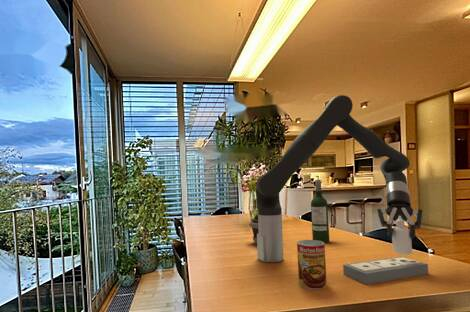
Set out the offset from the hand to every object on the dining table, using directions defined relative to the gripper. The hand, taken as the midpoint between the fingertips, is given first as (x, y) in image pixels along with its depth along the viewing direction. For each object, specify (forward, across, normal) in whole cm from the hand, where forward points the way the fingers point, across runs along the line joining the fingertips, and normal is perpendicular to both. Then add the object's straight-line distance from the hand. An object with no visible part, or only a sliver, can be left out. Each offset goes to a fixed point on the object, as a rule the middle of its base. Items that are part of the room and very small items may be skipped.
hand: (401, 236), depth 97 cm
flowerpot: (-11, -58, +28) cm, 65 cm away
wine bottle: (-20, -34, +37) cm, 54 cm away
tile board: (+11, -5, +5) cm, 13 cm away
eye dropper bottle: (+3, 0, +6) cm, 6 cm away
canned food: (+23, -24, -7) cm, 34 cm away
